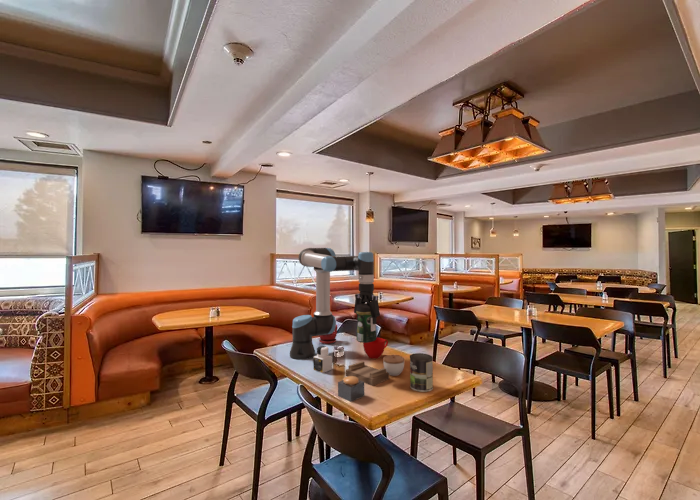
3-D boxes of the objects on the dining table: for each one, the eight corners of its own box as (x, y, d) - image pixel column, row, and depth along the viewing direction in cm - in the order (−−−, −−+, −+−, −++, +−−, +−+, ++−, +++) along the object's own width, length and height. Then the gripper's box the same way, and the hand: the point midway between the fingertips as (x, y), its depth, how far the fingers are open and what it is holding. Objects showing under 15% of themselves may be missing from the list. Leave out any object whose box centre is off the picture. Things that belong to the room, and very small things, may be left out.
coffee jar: (368, 337, 172) (368, 301, 172) (378, 341, 165) (378, 303, 165) (353, 340, 166) (353, 303, 166) (363, 344, 160) (363, 305, 159)
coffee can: (415, 393, 146) (415, 360, 147) (406, 384, 157) (406, 354, 157) (437, 390, 149) (436, 358, 149) (426, 382, 159) (426, 352, 159)
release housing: (338, 396, 144) (337, 382, 144) (351, 390, 150) (351, 377, 150) (350, 401, 139) (350, 387, 139) (364, 396, 144) (364, 382, 144)
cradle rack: (345, 375, 168) (345, 365, 168) (362, 369, 176) (362, 360, 176) (372, 385, 155) (372, 375, 155) (389, 379, 163) (388, 368, 163)
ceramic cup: (394, 356, 198) (394, 339, 199) (372, 362, 189) (372, 344, 189) (380, 351, 209) (380, 335, 209) (358, 356, 200) (358, 339, 200)
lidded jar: (392, 368, 178) (392, 350, 178) (408, 373, 170) (408, 354, 171) (379, 373, 171) (378, 355, 171) (395, 379, 163) (395, 359, 163)
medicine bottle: (313, 370, 177) (313, 347, 177) (323, 366, 182) (323, 344, 182) (322, 373, 172) (322, 349, 172) (332, 369, 177) (332, 346, 177)
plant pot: (340, 343, 229) (340, 325, 229) (323, 345, 223) (323, 327, 223) (332, 338, 240) (331, 322, 241) (315, 341, 234) (315, 324, 234)
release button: (340, 395, 144) (340, 378, 144) (351, 391, 149) (351, 375, 149) (350, 400, 140) (350, 382, 140) (361, 395, 144) (361, 378, 144)
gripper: (346, 282, 171) (346, 327, 171) (376, 285, 156) (377, 334, 156) (356, 281, 176) (357, 325, 176) (387, 283, 161) (387, 331, 161)
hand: (366, 329), depth 166 cm, fingers closed on coffee jar, 8 cm apart
